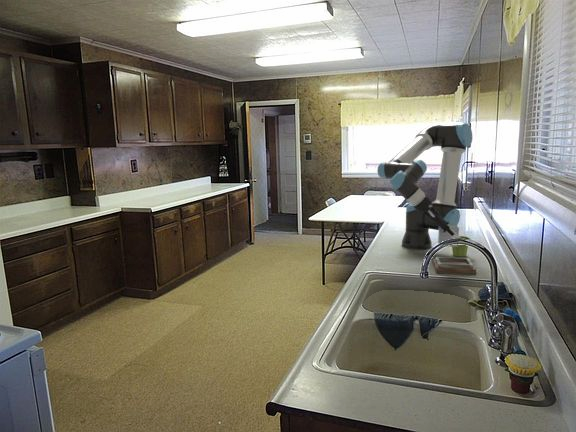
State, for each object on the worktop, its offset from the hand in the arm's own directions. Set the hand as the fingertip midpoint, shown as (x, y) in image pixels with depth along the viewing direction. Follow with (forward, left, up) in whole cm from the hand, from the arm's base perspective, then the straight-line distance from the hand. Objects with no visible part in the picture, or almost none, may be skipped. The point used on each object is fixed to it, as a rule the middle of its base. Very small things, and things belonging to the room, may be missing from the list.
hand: (457, 238), depth 185 cm
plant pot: (-22, +5, -14) cm, 26 cm away
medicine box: (0, -4, -4) cm, 5 cm away
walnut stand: (-1, -1, -14) cm, 14 cm away
